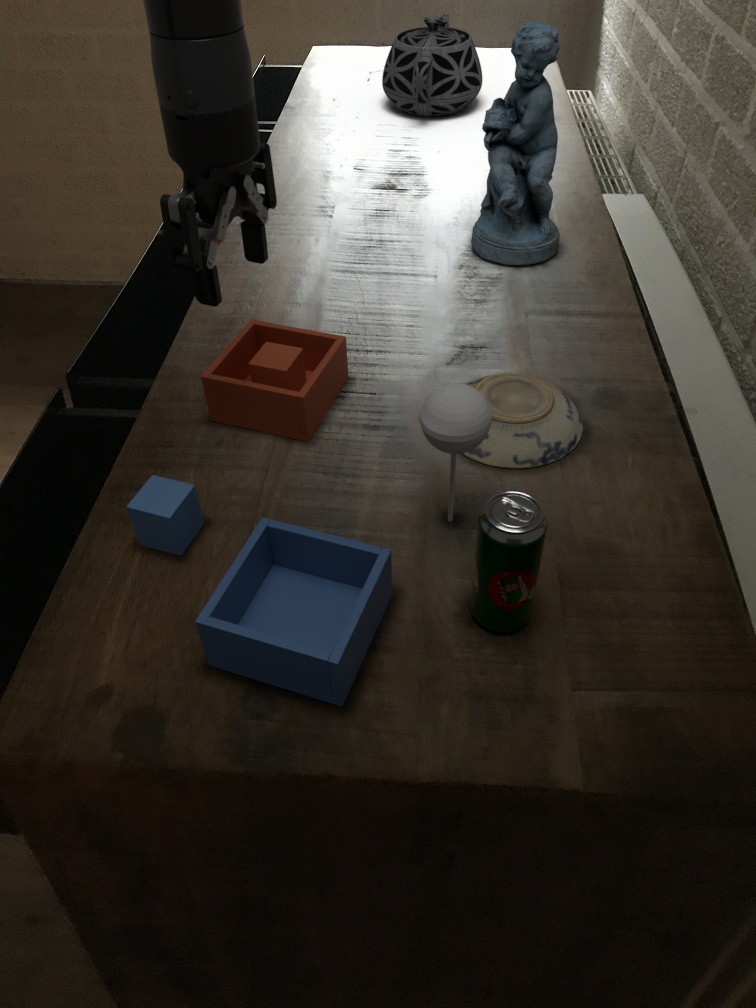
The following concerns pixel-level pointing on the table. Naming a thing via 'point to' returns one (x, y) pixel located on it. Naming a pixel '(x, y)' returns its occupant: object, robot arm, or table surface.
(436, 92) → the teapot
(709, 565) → the table surface
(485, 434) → the lollipop
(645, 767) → the table surface
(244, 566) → the blue bin
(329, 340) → the terracotta bin
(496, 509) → the soda can
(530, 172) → the statue
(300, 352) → the terracotta block
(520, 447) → the decorative bowl
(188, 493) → the blue block
